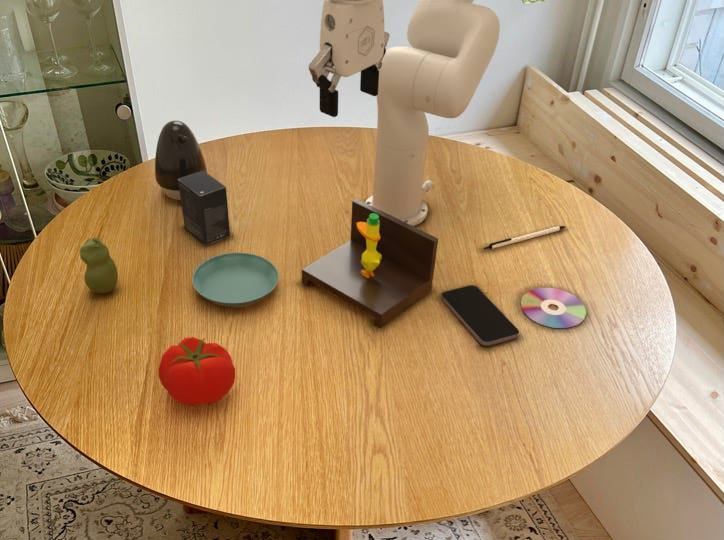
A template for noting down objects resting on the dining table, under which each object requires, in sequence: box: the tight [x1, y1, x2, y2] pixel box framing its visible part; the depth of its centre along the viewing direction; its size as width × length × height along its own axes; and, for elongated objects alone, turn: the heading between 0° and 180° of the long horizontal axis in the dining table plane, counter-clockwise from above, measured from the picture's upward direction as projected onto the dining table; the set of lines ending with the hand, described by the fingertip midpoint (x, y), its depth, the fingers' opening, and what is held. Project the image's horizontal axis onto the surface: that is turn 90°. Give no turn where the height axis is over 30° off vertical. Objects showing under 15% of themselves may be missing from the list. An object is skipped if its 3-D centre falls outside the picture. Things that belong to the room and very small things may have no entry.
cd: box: [520, 287, 587, 329], centre depth 129 cm, size 11×11×1 cm
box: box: [178, 171, 231, 246], centre depth 139 cm, size 8×6×11 cm
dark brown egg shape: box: [154, 120, 208, 201], centre depth 147 cm, size 10×10×15 cm
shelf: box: [301, 198, 439, 330], centre depth 128 cm, size 14×18×11 cm
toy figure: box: [356, 213, 382, 278], centre depth 126 cm, size 7×4×12 cm, turn 33°
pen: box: [483, 225, 566, 250], centre depth 144 cm, size 1×19×1 cm, turn 116°
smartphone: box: [440, 284, 520, 347], centre depth 127 cm, size 7×1×15 cm
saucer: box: [191, 252, 280, 308], centre depth 130 cm, size 15×15×3 cm
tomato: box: [158, 336, 236, 408], centre depth 109 cm, size 11×11×9 cm
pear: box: [79, 237, 119, 295], centre depth 125 cm, size 6×5×10 cm
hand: (349, 103), depth 116 cm, fingers open, 9 cm apart
